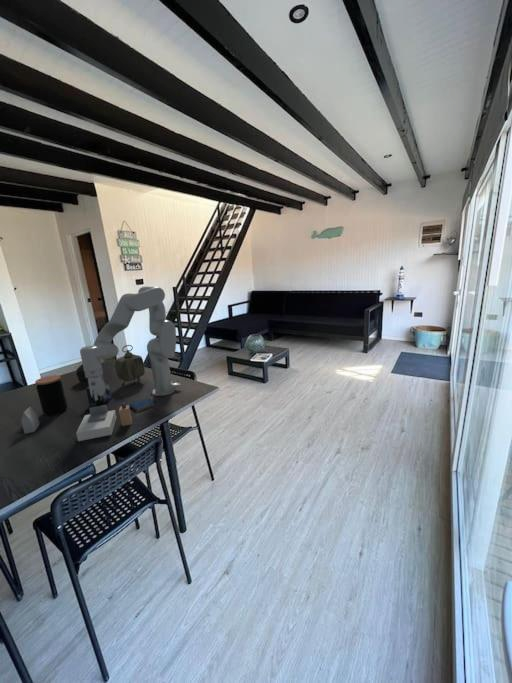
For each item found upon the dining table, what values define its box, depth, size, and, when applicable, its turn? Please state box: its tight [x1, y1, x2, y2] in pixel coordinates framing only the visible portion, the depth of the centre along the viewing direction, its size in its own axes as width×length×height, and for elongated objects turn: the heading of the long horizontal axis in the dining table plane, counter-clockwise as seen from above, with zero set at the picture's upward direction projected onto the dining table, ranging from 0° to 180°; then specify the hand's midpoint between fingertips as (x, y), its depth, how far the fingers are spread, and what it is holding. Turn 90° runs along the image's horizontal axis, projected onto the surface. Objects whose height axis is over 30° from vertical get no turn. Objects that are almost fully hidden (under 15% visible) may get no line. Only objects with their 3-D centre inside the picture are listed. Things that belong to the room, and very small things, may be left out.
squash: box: [75, 364, 89, 384], centre depth 189 cm, size 14×15×15 cm
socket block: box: [75, 409, 117, 442], centre depth 132 cm, size 13×16×4 cm
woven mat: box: [128, 397, 156, 413], centre depth 153 cm, size 10×11×2 cm
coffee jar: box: [34, 374, 68, 417], centre depth 149 cm, size 11×11×18 cm
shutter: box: [88, 404, 109, 422], centre depth 134 cm, size 7×7×4 cm
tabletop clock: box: [115, 344, 146, 386], centre depth 180 cm, size 14×9×25 cm, turn 144°
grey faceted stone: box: [21, 406, 41, 435], centre depth 134 cm, size 4×7×10 cm, turn 18°
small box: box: [85, 380, 113, 407], centre depth 158 cm, size 11×6×10 cm, turn 168°
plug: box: [118, 402, 133, 427], centre depth 135 cm, size 4×4×10 cm
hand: (101, 407), depth 142 cm, fingers closed
